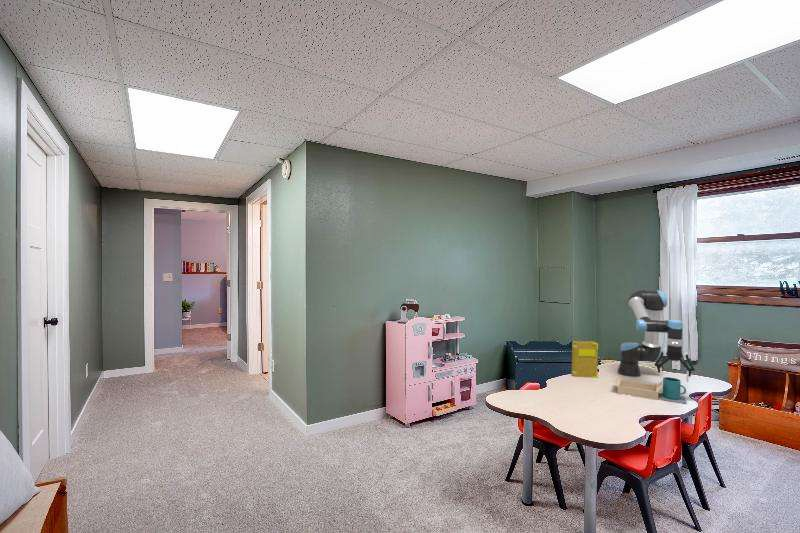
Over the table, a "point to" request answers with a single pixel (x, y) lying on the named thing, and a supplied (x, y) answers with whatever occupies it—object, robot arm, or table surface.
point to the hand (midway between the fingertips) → (673, 379)
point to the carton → (638, 388)
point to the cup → (672, 388)
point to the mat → (681, 400)
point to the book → (584, 359)
